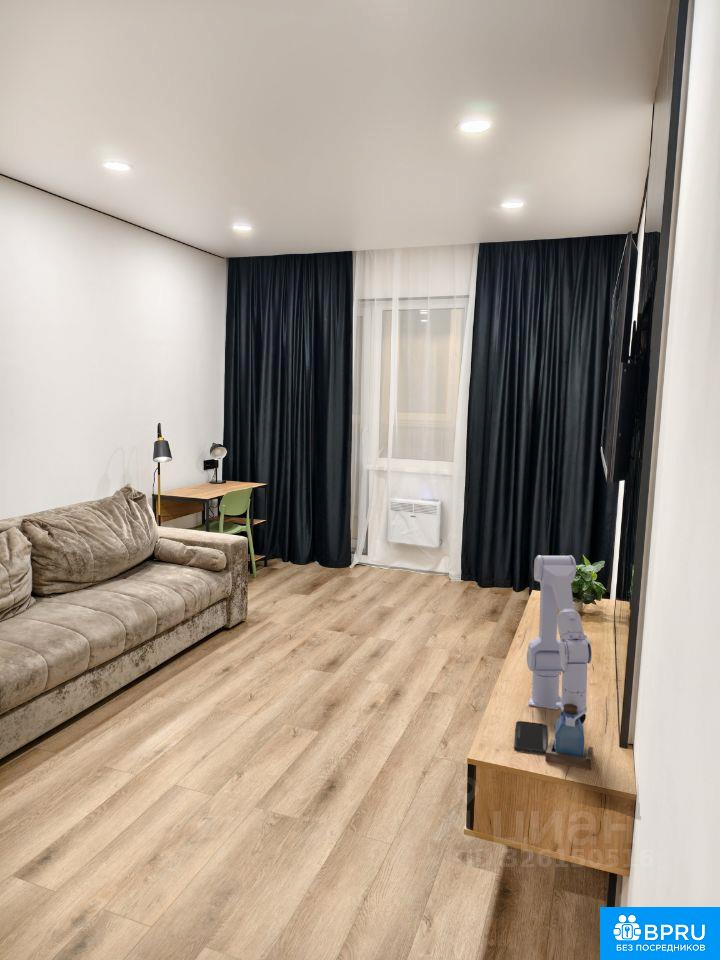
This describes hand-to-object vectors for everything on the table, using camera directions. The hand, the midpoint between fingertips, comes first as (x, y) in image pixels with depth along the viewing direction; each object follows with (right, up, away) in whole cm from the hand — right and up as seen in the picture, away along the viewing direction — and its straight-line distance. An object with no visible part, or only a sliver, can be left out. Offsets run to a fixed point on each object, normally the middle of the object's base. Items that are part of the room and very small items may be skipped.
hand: (572, 742), depth 158 cm
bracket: (-2, -2, -4) cm, 5 cm away
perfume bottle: (-2, -2, -4) cm, 4 cm away
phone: (-9, -1, +5) cm, 10 cm away
